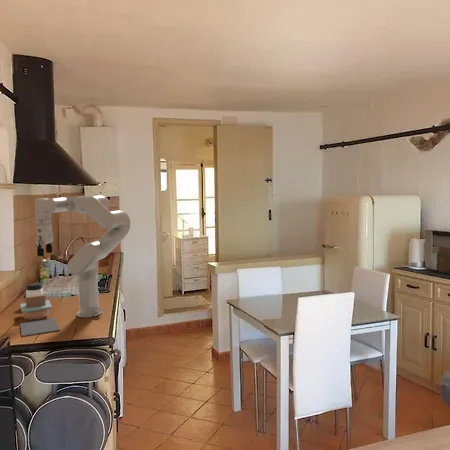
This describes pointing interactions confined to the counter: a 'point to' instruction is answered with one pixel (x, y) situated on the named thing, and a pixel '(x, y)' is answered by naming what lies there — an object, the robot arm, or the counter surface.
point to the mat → (38, 326)
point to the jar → (34, 289)
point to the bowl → (36, 314)
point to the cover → (35, 303)
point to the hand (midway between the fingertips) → (45, 254)
